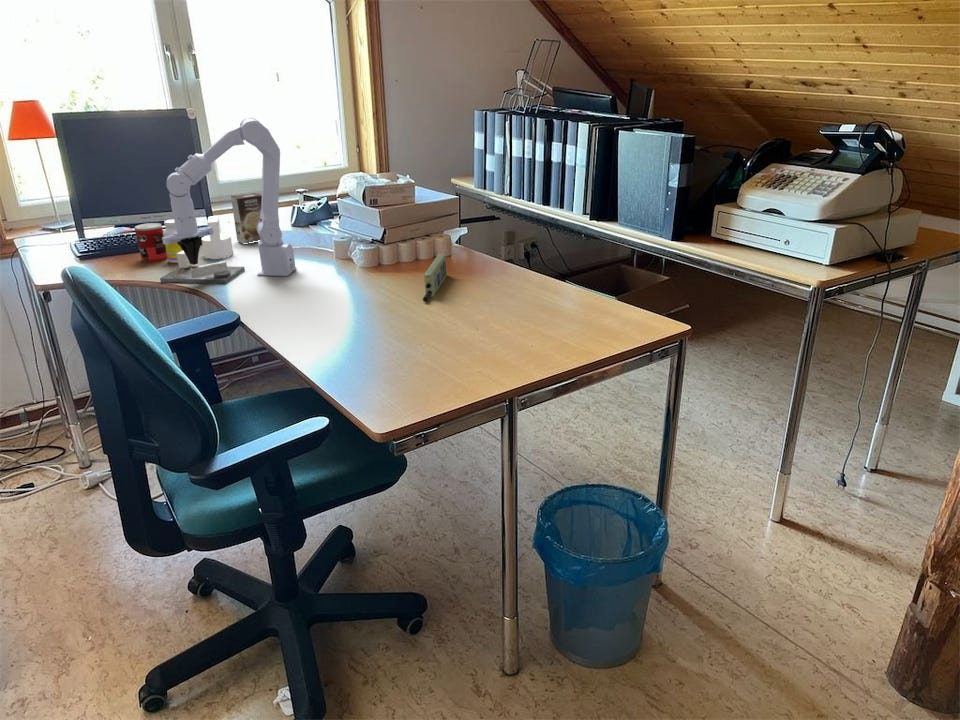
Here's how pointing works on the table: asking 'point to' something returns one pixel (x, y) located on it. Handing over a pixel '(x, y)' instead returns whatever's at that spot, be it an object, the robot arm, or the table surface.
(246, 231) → the coffee box
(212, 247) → the base with upright slab
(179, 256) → the cap
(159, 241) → the canned food
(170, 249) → the supplement bottle
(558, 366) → the table surface
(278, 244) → the robot arm
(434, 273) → the handheld radio
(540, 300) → the table surface
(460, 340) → the table surface
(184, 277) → the console plate
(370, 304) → the table surface
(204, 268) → the selector lever
